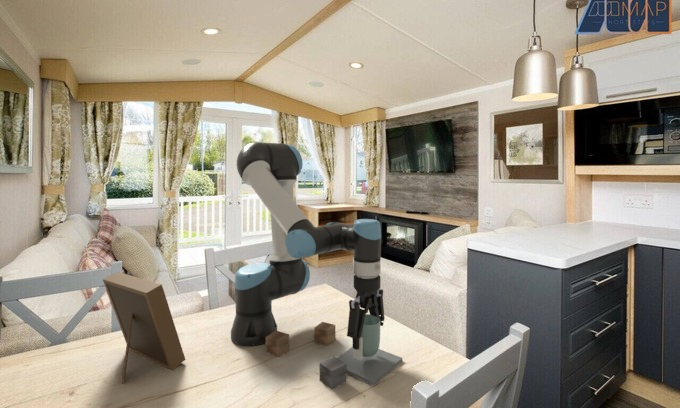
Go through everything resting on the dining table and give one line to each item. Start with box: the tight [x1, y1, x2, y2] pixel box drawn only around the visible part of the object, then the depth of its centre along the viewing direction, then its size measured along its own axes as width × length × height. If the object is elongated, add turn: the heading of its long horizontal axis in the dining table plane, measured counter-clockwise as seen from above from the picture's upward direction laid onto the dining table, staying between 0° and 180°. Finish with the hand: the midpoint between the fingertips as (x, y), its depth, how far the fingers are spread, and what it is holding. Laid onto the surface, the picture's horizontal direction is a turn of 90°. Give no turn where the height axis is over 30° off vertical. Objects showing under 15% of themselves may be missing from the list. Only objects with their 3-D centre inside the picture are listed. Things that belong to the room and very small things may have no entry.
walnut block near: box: [265, 330, 290, 358], centre depth 106 cm, size 5×5×5 cm
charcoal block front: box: [319, 356, 347, 390], centre depth 91 cm, size 5×5×5 cm
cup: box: [361, 313, 381, 357], centre depth 99 cm, size 8×8×10 cm
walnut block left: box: [313, 321, 336, 347], centre depth 112 cm, size 5×5×5 cm
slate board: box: [335, 346, 403, 387], centre depth 99 cm, size 15×15×1 cm
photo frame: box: [102, 271, 186, 385], centre depth 97 cm, size 15×22×25 cm
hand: (366, 352), depth 99 cm, fingers closed on cup, 8 cm apart
